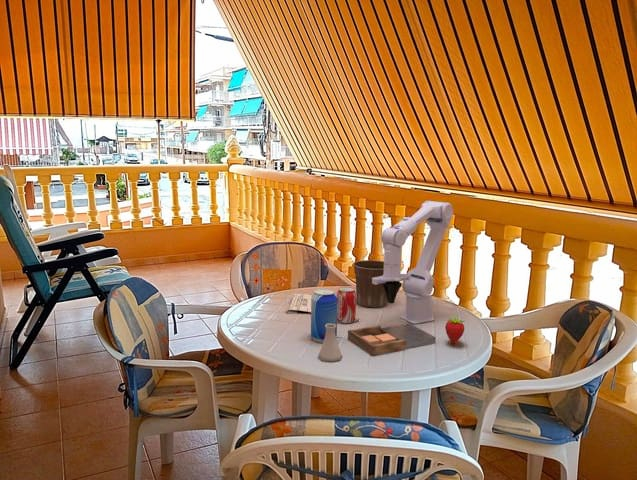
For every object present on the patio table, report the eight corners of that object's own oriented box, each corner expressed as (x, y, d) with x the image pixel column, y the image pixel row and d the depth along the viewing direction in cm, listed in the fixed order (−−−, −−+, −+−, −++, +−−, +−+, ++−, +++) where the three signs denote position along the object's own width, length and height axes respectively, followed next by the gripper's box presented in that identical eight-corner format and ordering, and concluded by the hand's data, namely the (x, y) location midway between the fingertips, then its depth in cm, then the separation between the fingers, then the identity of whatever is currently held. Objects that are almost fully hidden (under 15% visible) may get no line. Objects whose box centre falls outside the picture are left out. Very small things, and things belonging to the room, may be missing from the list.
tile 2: (386, 340, 167) (387, 333, 166) (396, 345, 162) (396, 338, 162) (374, 342, 164) (374, 335, 164) (383, 348, 160) (383, 341, 160)
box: (378, 333, 172) (379, 325, 171) (405, 349, 158) (405, 340, 158) (347, 339, 166) (348, 330, 166) (372, 356, 153) (372, 346, 153)
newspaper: (287, 297, 213) (288, 291, 212) (316, 301, 212) (317, 295, 212) (280, 315, 190) (281, 308, 190) (313, 319, 190) (314, 313, 189)
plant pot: (370, 295, 216) (371, 257, 213) (400, 304, 204) (402, 264, 201) (343, 302, 205) (344, 263, 202) (373, 312, 193) (375, 271, 190)
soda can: (354, 325, 179) (355, 292, 177) (334, 323, 181) (335, 290, 179) (356, 318, 186) (357, 286, 184) (337, 317, 188) (338, 285, 185)
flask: (317, 352, 155) (317, 321, 153) (340, 352, 156) (341, 321, 154) (318, 362, 148) (319, 329, 146) (343, 362, 148) (344, 329, 147)
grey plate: (409, 329, 176) (409, 323, 176) (435, 343, 164) (435, 337, 164) (379, 334, 171) (379, 328, 171) (404, 349, 159) (404, 343, 158)
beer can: (318, 345, 161) (318, 296, 158) (306, 336, 168) (306, 289, 165) (341, 341, 165) (342, 293, 162) (328, 332, 172) (329, 286, 169)
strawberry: (461, 340, 167) (463, 310, 165) (464, 349, 160) (467, 318, 158) (443, 339, 168) (445, 309, 166) (445, 347, 160) (447, 317, 159)
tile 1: (370, 342, 165) (371, 334, 165) (379, 347, 161) (379, 340, 160) (357, 344, 163) (357, 337, 162) (365, 350, 159) (365, 342, 158)
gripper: (380, 268, 166) (379, 308, 168) (417, 264, 172) (415, 303, 174) (369, 263, 172) (367, 302, 174) (404, 260, 178) (402, 297, 181)
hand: (390, 302), depth 175 cm, fingers closed
